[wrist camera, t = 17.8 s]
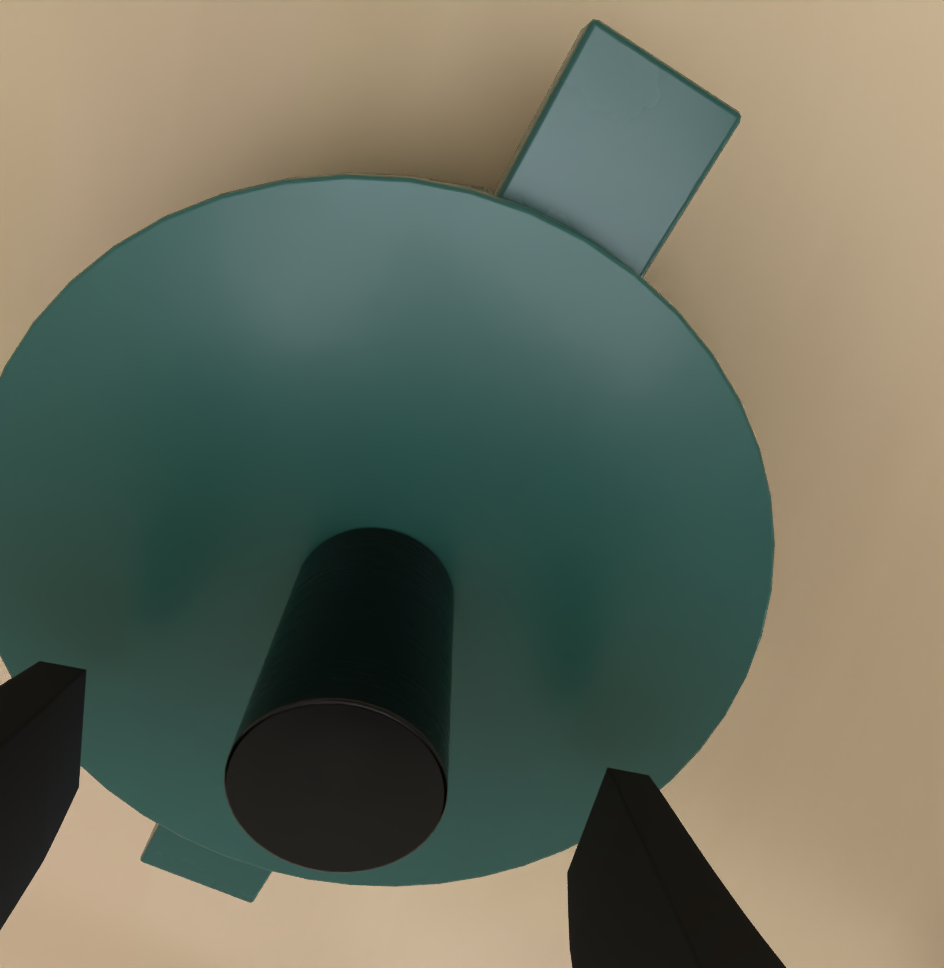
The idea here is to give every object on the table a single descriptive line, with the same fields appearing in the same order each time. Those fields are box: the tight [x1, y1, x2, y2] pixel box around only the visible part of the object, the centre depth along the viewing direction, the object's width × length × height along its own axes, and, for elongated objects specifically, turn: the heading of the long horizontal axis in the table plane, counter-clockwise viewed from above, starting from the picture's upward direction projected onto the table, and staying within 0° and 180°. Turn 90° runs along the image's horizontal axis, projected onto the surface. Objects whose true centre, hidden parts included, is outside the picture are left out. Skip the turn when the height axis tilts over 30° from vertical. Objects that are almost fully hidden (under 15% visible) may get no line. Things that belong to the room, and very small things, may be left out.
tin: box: [141, 19, 741, 902], centre depth 16 cm, size 11×17×6 cm
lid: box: [0, 173, 775, 886], centre depth 11 cm, size 12×12×5 cm
